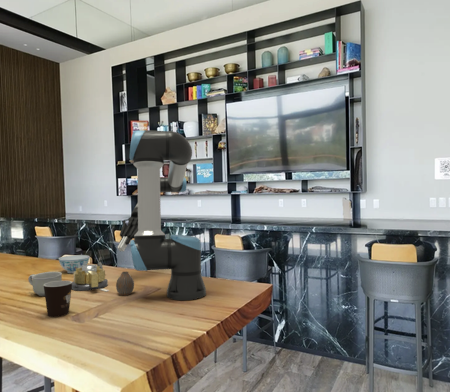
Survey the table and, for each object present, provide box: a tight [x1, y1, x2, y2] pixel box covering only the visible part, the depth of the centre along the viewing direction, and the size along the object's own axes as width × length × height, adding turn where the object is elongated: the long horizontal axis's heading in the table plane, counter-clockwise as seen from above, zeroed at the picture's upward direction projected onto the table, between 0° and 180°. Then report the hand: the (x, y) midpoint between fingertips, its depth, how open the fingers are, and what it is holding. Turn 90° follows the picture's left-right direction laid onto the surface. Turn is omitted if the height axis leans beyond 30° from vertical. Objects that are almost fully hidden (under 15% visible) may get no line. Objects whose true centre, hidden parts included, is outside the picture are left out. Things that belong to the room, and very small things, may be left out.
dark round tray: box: [71, 264, 109, 292], centre depth 155 cm, size 15×15×9 cm
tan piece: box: [73, 266, 106, 287], centre depth 151 cm, size 20×12×5 cm, turn 30°
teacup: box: [28, 271, 63, 297], centre depth 144 cm, size 14×11×8 cm
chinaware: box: [58, 254, 90, 274], centre depth 187 cm, size 15×15×8 cm
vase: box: [115, 270, 135, 296], centre depth 141 cm, size 7×7×9 cm
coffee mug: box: [44, 280, 73, 318], centre depth 119 cm, size 12×9×10 cm
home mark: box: [98, 288, 110, 292], centre depth 147 cm, size 5×1×1 cm, turn 51°
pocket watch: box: [96, 256, 104, 269], centre depth 171 cm, size 8×8×10 cm
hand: (120, 249), depth 159 cm, fingers closed
